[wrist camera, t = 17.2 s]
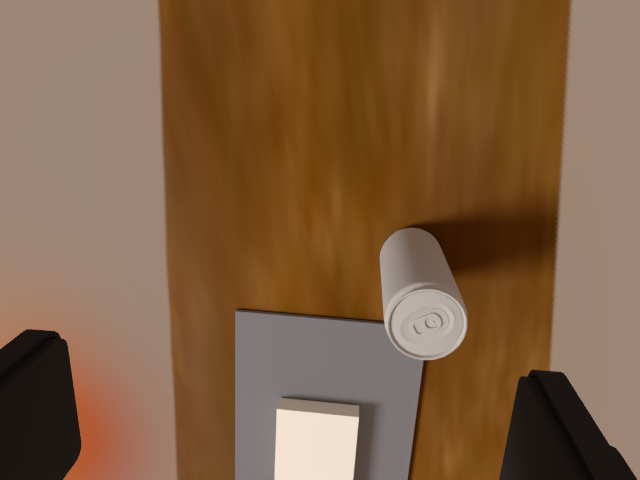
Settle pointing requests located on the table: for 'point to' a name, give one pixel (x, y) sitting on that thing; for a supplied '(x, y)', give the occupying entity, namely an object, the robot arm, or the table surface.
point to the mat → (323, 387)
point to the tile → (315, 440)
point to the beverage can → (420, 296)
